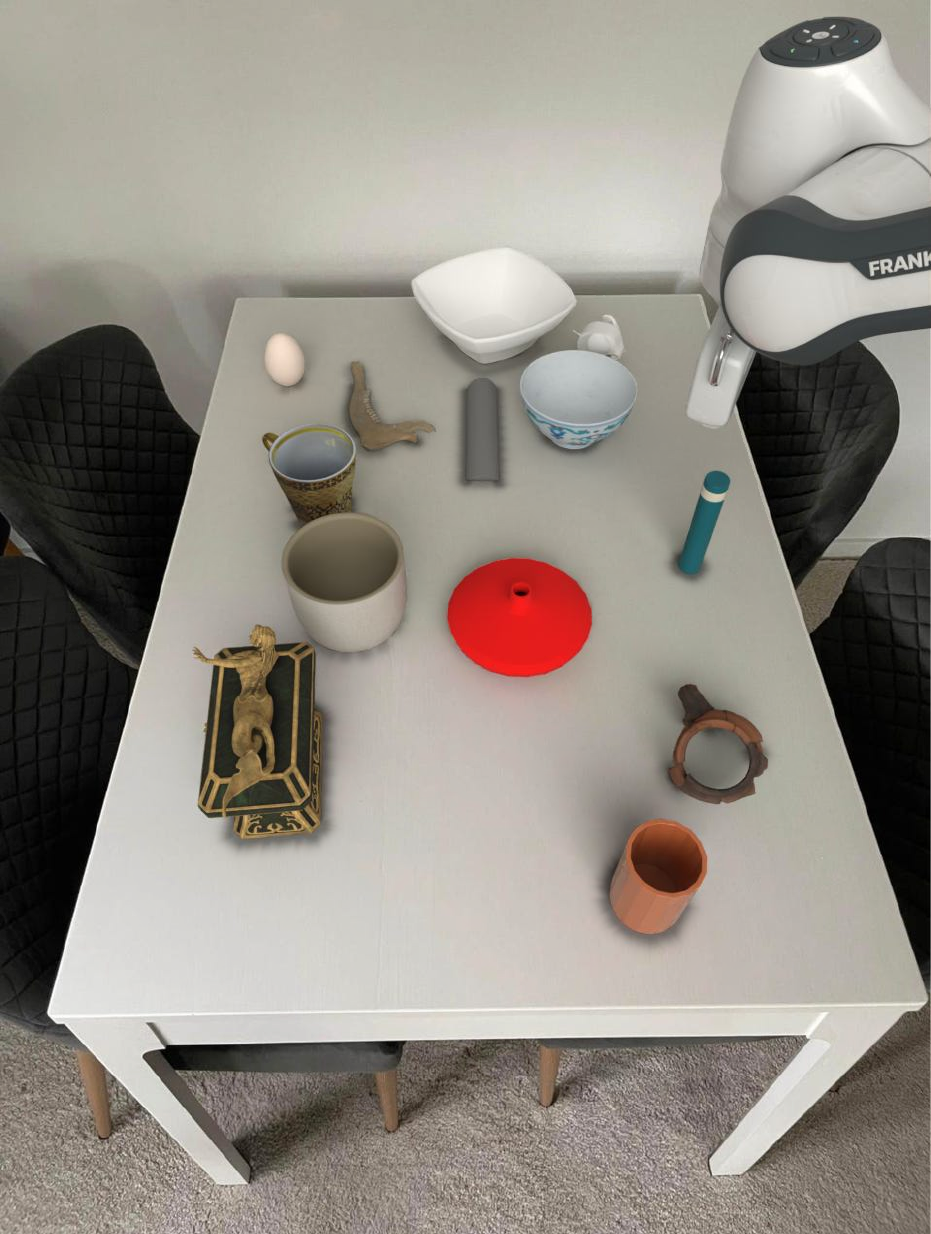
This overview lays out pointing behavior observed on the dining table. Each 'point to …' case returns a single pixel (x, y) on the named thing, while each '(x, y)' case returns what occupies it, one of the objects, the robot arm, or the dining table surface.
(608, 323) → the elephant figurine
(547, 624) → the red disc with nozzle
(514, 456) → the dining table surface
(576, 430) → the chinaware
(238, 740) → the decorative box
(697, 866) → the tumbler
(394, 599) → the planter
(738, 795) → the broken brown pottery vessel
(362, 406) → the jawbone
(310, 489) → the ceramic cup
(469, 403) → the half round rod
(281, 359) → the egg
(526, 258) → the bowl
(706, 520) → the teal banded tube
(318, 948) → the dining table surface
